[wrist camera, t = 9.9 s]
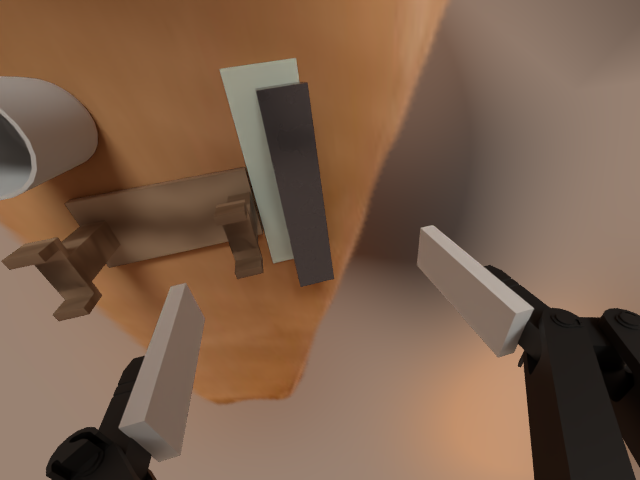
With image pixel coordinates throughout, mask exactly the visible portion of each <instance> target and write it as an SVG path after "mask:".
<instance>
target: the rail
mask: <svg viewBox="0 0 640 480" xmlns="http://www.w3.org/2000/svg"><path fill="white" fill-rule="evenodd" d="M255 91H256V95H257V100H258V104H259V108H260V113H261V117H262V121H263V126H264V130H265V135H266V139H267V143H268V148H269V152H270V157H271V161H272V165H273V170H274V174H275V178H276V183H277V187H278V192H279V196H280V200H281V205H282V209H283V213H284V218H285V222H286V227H287V231H288V235H289V240H290V244H291V248H292V253H293V257H294V261H295V266H296V270H297V274H298V278H299V282H300V286H301V287H303V286H307V285H311V284H315V283H319V282H323V281H327V280H331V279H334V275H333V268H332V260H331V253H330V246H329V238H328V231H327V223H326V216H325V209H324V201H323V194H322V186H321V179H320V172H319V164H318V157H317V149H316V142H315V135H314V127H313V120H312V113H311V105H310V98H309V90H308V83H307V82H293V83H287V84H281V85H274V86H268V87H262V88H256V89H255Z"/></svg>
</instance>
